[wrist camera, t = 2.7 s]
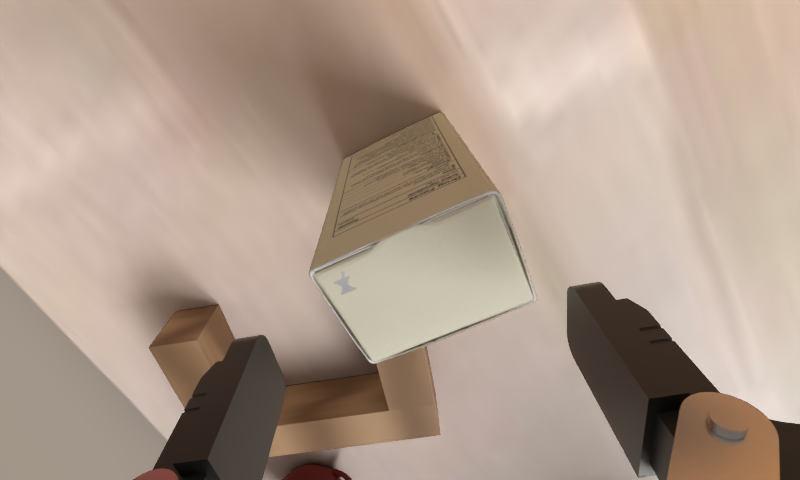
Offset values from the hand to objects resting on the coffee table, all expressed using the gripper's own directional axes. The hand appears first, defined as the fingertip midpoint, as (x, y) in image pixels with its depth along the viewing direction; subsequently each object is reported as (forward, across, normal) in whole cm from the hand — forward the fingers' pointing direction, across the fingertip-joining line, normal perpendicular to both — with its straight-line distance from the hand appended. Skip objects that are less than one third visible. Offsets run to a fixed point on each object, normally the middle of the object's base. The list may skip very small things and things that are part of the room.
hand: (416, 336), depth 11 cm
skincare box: (+14, 0, 0) cm, 14 cm away
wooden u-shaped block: (+14, +9, +13) cm, 21 cm away
